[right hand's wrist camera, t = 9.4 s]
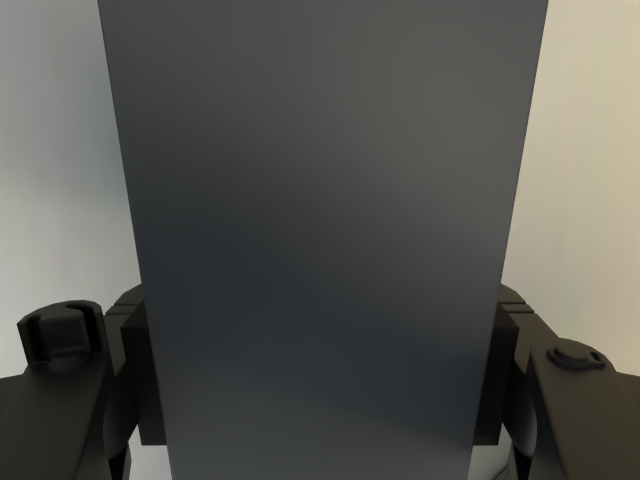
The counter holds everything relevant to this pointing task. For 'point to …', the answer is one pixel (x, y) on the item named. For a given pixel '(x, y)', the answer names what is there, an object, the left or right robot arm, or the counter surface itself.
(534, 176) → the counter surface
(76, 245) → the counter surface
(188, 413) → the post
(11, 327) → the counter surface
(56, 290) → the counter surface
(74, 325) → the right robot arm
